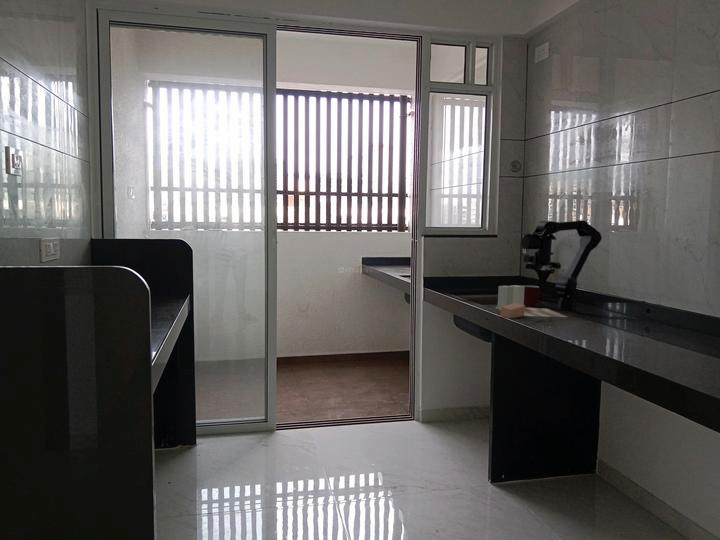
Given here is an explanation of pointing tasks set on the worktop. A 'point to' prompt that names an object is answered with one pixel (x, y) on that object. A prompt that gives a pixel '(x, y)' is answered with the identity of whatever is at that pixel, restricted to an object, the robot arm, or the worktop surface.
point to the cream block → (518, 294)
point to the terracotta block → (512, 310)
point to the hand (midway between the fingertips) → (541, 285)
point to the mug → (532, 295)
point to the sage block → (505, 296)
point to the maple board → (541, 312)
